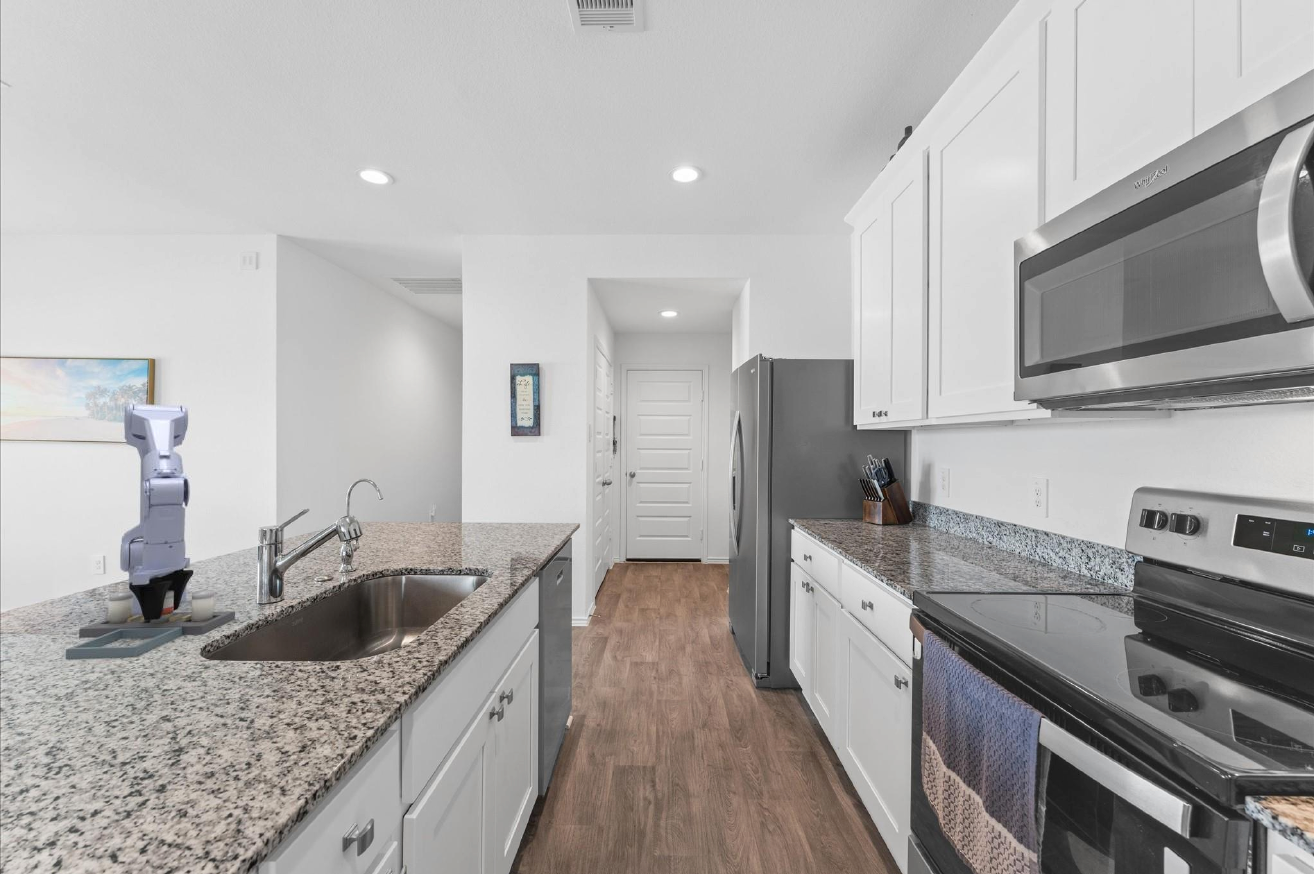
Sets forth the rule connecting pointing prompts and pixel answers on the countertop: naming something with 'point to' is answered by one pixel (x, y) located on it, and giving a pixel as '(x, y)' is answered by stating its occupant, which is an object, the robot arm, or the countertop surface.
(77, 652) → the tray
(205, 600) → the fuse
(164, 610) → the marked fuse
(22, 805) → the countertop surface
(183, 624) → the fuse holder
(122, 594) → the fuse
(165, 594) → the robot arm
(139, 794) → the countertop surface
